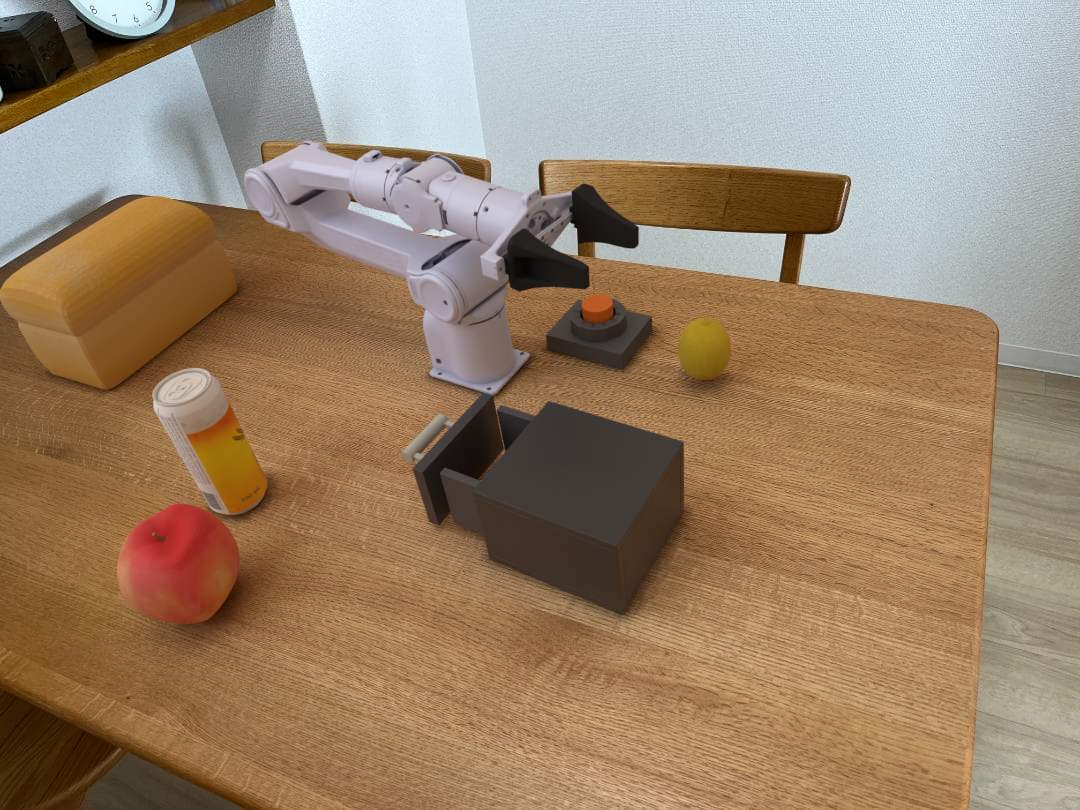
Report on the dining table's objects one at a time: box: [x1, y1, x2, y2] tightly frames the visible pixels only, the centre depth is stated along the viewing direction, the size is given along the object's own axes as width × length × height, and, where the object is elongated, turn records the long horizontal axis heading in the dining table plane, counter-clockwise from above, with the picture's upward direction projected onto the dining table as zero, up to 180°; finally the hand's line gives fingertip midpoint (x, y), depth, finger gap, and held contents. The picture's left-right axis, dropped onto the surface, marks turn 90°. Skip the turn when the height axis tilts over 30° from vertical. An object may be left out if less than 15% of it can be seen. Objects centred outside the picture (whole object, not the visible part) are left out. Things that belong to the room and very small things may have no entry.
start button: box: [581, 294, 613, 324], centre depth 94 cm, size 4×4×2 cm
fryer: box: [473, 400, 685, 616], centre depth 71 cm, size 14×13×9 cm
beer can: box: [152, 367, 268, 516], centre depth 79 cm, size 6×6×15 cm
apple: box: [116, 503, 240, 625], centre depth 70 cm, size 10×10×10 cm
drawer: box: [400, 392, 536, 536], centre depth 76 cm, size 17×11×7 cm
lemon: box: [677, 317, 732, 381], centre depth 86 cm, size 6×6×8 cm
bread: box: [0, 195, 238, 391], centre depth 106 cm, size 24×13×15 cm, turn 154°
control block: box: [545, 298, 653, 370], centre depth 95 cm, size 10×8×4 cm
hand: (612, 257), depth 71 cm, fingers open, 7 cm apart
